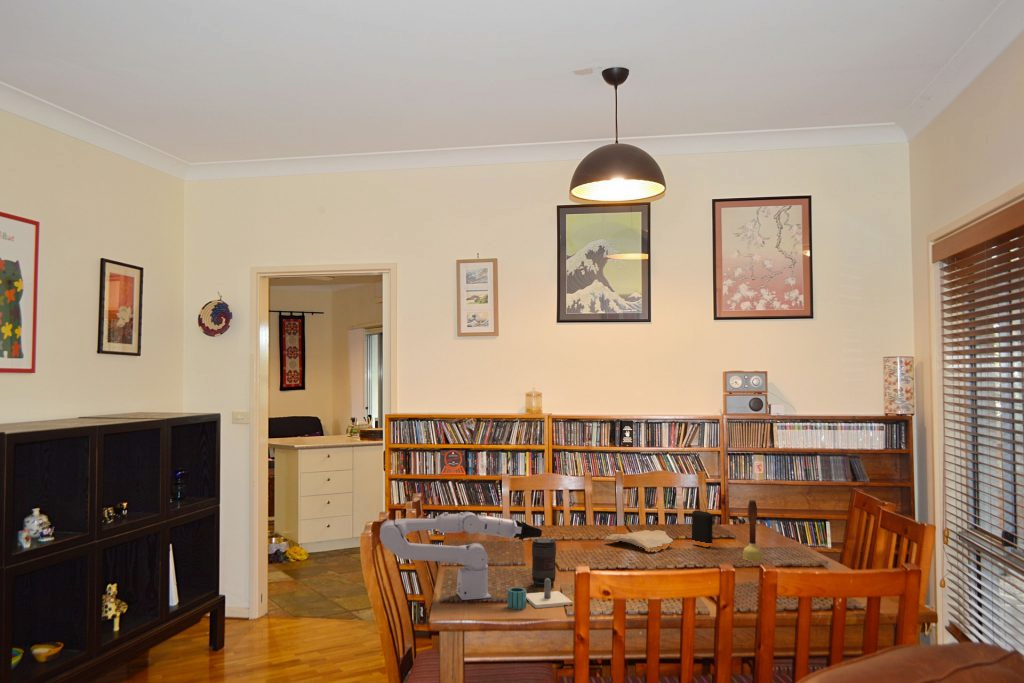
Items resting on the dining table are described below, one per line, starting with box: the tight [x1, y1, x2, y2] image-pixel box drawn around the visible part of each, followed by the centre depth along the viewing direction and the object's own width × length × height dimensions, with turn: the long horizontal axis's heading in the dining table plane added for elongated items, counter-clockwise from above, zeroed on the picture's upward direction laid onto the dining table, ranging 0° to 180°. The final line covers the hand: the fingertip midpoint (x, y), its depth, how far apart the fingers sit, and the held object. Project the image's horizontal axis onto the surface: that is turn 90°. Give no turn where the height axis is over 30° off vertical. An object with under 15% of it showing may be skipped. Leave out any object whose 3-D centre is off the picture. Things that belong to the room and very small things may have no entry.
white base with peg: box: [526, 578, 574, 609], centre depth 232 cm, size 12×12×7 cm
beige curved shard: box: [603, 529, 674, 548], centre depth 311 cm, size 24×8×20 cm
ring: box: [506, 586, 527, 610], centre depth 225 cm, size 6×6×5 cm
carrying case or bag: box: [691, 509, 715, 544], centre depth 312 cm, size 11×3×15 cm, turn 41°
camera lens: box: [531, 537, 557, 589], centre depth 250 cm, size 8×8×15 cm
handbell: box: [742, 499, 763, 561], centre depth 277 cm, size 12×12×25 cm
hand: (538, 532), depth 240 cm, fingers open, 7 cm apart
